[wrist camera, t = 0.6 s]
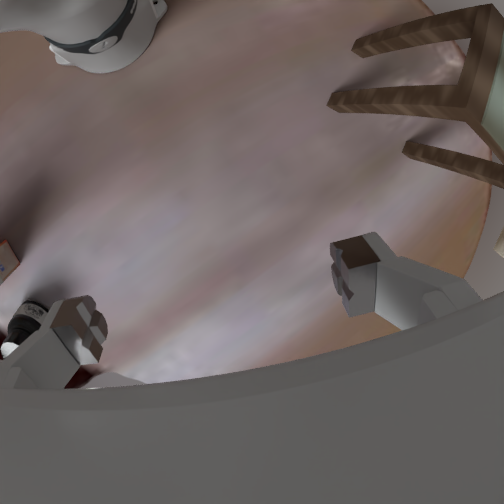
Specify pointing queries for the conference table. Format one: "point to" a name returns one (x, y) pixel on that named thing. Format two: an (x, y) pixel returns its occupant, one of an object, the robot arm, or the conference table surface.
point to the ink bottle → (23, 325)
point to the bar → (500, 244)
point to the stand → (444, 86)
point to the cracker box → (7, 261)
